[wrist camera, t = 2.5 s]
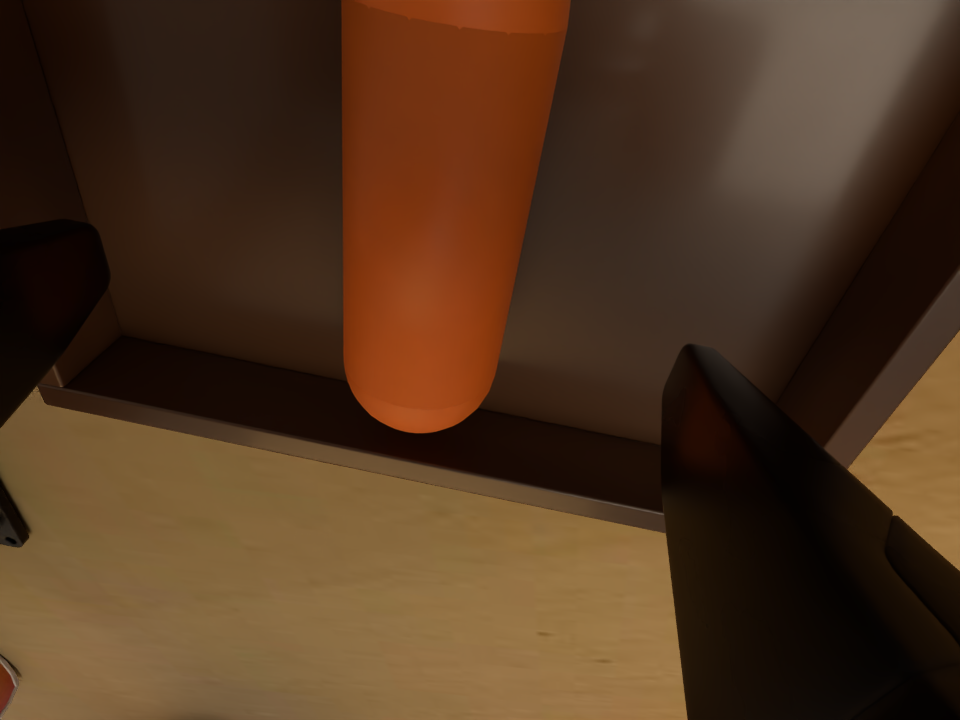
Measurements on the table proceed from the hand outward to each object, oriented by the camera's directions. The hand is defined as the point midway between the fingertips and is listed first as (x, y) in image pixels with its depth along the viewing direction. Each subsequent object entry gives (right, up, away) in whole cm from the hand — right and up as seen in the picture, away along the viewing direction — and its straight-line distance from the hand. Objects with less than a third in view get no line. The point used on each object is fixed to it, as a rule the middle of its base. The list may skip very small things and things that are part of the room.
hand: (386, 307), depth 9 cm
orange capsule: (+1, +3, +4) cm, 5 cm away
